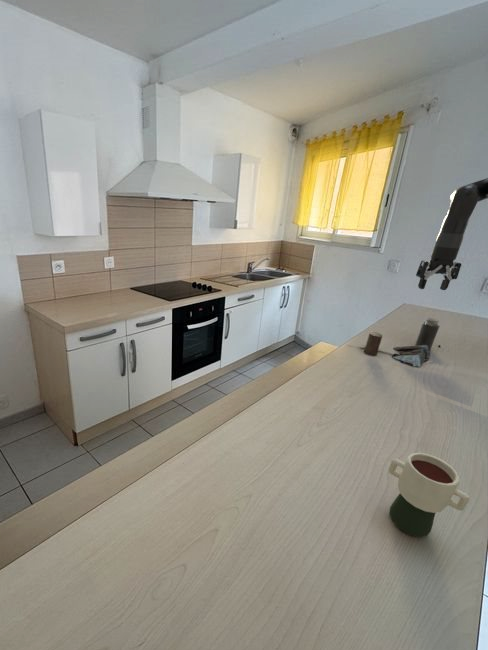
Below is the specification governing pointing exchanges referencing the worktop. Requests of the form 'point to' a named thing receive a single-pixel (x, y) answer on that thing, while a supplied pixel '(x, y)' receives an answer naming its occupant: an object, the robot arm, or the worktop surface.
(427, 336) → the pepper mill
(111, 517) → the worktop surface
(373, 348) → the cylinder
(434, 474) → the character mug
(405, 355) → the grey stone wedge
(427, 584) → the worktop surface
